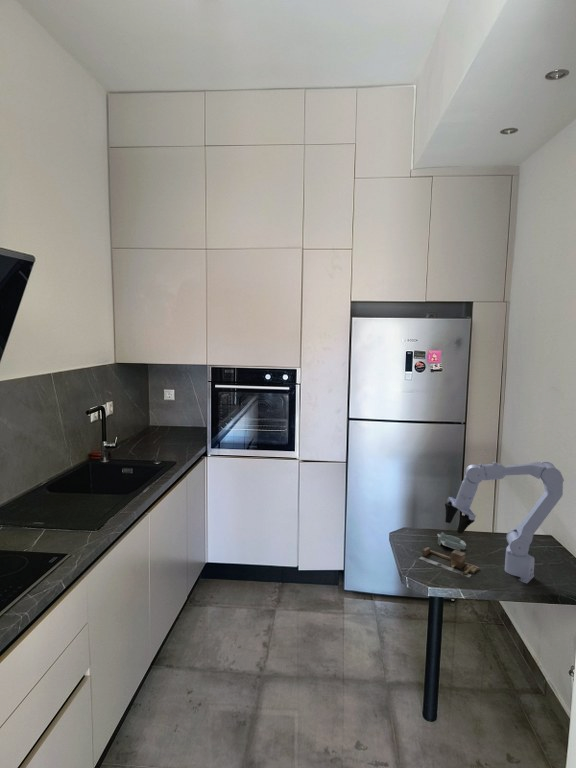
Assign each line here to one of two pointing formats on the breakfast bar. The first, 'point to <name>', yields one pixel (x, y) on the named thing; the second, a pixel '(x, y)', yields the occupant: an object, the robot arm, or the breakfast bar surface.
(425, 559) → the gauge board
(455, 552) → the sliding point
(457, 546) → the metal bracket
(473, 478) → the robot arm
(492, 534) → the breakfast bar surface
